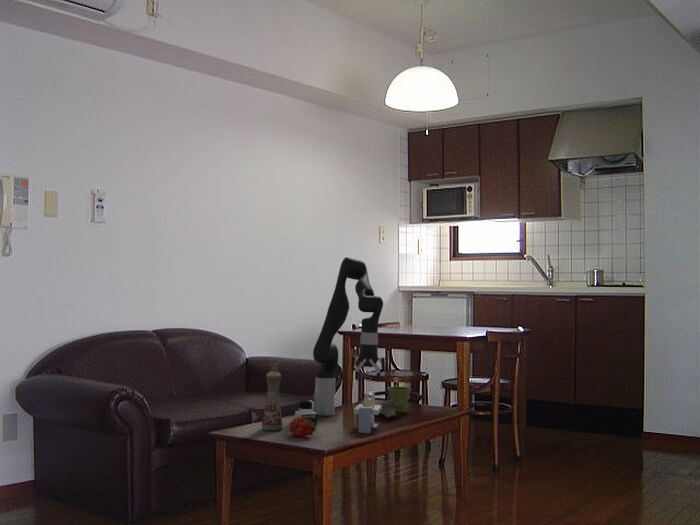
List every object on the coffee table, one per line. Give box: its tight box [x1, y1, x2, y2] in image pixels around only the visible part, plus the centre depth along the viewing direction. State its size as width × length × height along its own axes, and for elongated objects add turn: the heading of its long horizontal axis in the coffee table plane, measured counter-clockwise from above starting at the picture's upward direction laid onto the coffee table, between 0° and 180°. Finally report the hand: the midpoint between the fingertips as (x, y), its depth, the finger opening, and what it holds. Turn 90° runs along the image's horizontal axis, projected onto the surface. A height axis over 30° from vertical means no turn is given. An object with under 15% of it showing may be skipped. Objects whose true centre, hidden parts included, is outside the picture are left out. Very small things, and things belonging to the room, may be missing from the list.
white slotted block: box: [378, 399, 405, 418], centre depth 374 cm, size 16×9×15 cm
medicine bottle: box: [294, 399, 318, 431], centre depth 339 cm, size 7×7×12 cm
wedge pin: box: [364, 397, 372, 406], centre depth 342 cm, size 3×3×13 cm
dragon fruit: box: [287, 417, 316, 439], centre depth 321 cm, size 8×8×12 cm
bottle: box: [261, 361, 284, 432], centre depth 336 cm, size 9×9×28 cm
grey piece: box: [353, 392, 382, 429], centre depth 345 cm, size 10×14×14 cm
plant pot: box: [386, 386, 412, 414], centre depth 392 cm, size 12×12×11 cm
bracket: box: [358, 403, 374, 434], centre depth 340 cm, size 5×12×10 cm, turn 172°
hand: (367, 381), depth 342 cm, fingers open, 8 cm apart
